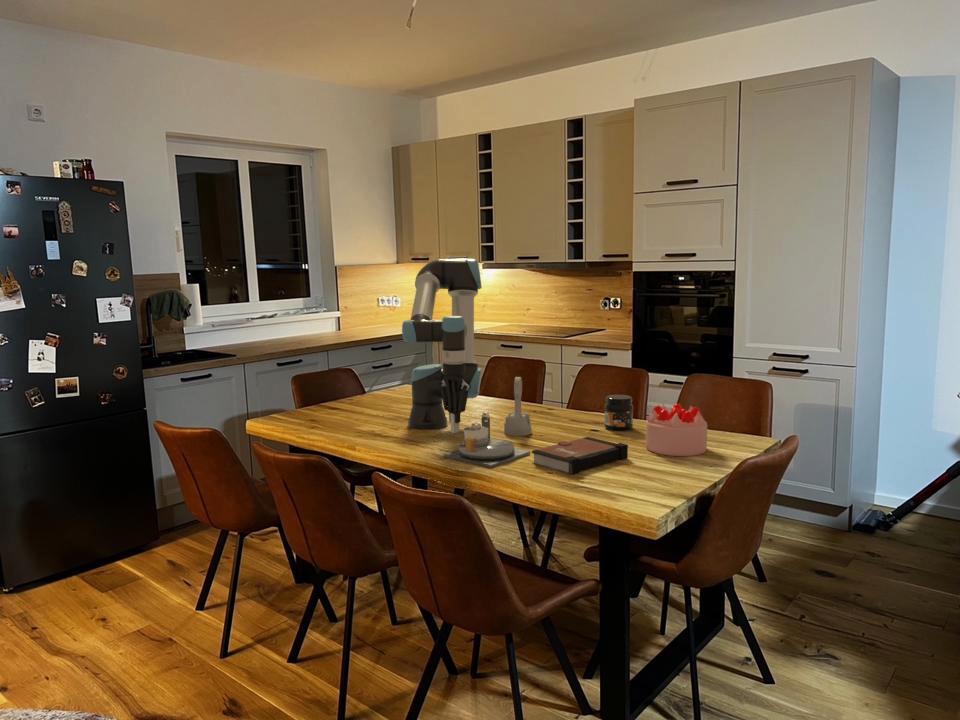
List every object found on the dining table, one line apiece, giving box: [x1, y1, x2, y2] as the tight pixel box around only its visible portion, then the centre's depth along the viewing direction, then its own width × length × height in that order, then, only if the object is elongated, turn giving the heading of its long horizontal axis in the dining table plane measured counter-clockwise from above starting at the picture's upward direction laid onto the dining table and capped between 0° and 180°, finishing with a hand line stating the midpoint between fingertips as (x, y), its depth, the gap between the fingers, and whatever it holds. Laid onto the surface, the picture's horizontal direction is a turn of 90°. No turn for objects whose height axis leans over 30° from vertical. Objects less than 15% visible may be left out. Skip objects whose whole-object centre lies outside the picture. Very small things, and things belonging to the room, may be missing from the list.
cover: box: [463, 423, 488, 447], centre depth 239 cm, size 8×8×6 cm
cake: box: [645, 403, 708, 457], centre depth 242 cm, size 20×20×14 cm
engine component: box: [503, 376, 532, 436], centre depth 267 cm, size 11×20×10 cm
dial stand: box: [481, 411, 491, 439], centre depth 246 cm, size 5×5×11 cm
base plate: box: [443, 447, 531, 469], centre depth 237 cm, size 20×20×1 cm
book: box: [531, 436, 629, 476], centre depth 230 cm, size 26×18×5 cm
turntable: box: [458, 438, 515, 459], centre depth 236 cm, size 18×18×6 cm
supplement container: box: [604, 394, 634, 432], centre depth 272 cm, size 10×10×12 cm
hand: (454, 431), depth 245 cm, fingers closed
